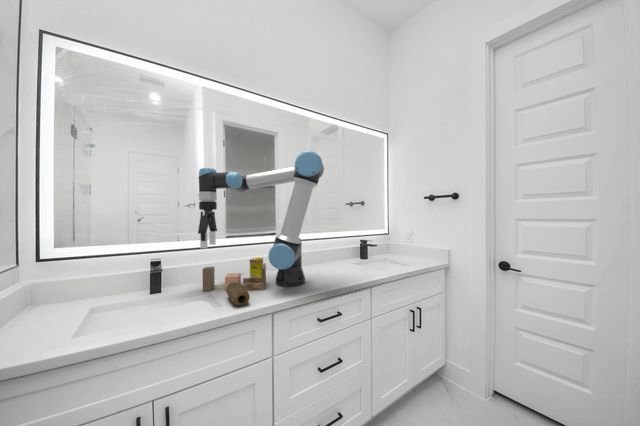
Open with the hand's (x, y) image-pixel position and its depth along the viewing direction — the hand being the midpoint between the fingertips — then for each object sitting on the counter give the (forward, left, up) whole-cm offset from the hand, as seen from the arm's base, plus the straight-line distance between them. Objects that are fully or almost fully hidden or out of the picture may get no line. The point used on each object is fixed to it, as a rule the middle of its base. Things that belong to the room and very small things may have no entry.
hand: (208, 246), depth 112 cm
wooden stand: (-20, 0, -20) cm, 29 cm away
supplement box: (-20, -16, -21) cm, 33 cm away
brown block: (-6, 0, -20) cm, 21 cm away
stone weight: (-16, +19, -21) cm, 32 cm away
